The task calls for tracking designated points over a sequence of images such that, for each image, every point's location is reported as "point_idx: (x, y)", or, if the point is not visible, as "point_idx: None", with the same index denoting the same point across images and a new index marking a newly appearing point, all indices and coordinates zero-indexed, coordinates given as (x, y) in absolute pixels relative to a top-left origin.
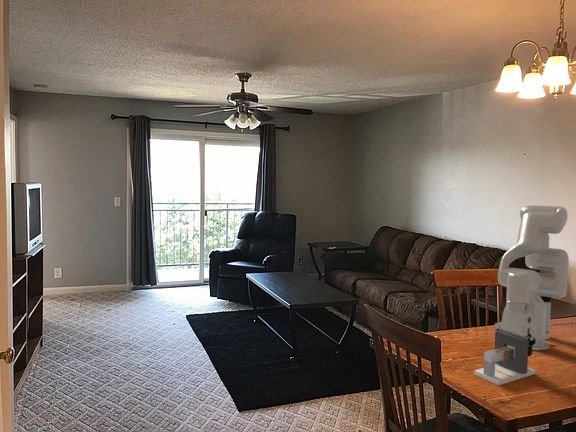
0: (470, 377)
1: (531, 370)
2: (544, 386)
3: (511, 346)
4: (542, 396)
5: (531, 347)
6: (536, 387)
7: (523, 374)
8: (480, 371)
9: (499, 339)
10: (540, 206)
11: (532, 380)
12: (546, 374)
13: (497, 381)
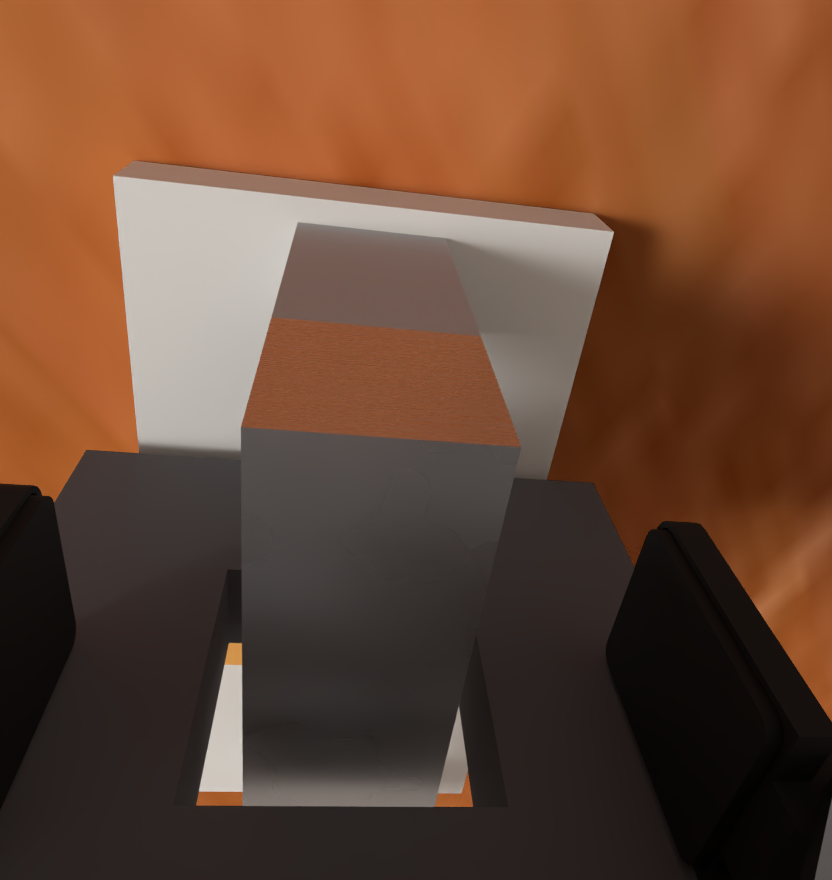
0: (213, 802)
1: (580, 295)
2: (794, 475)
3: (310, 751)
4: (814, 662)
5: (824, 764)
6: (729, 557)
7: (541, 477)
8: (220, 771)
9: None
10: None
11: (642, 437)
12: (740, 44)
13: (446, 783)
